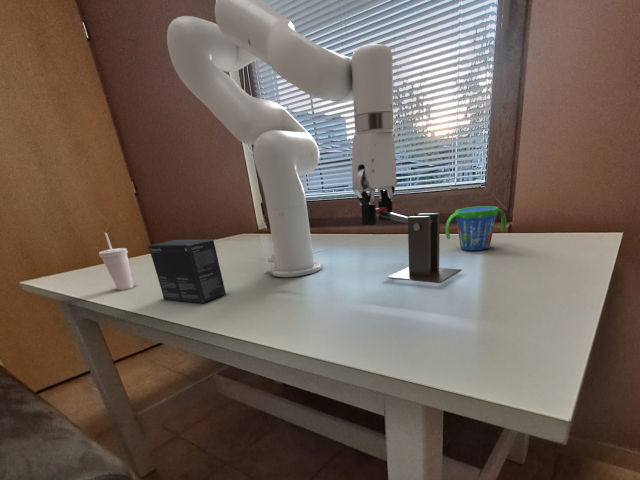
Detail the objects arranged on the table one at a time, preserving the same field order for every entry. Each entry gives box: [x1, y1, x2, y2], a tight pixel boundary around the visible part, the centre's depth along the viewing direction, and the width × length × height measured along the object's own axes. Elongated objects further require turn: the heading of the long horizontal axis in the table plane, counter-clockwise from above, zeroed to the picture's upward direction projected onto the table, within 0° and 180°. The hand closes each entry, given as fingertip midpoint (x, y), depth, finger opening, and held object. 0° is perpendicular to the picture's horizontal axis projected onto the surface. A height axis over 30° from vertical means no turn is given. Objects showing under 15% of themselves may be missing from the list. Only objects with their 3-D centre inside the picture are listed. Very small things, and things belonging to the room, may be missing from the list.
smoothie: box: [98, 232, 134, 291], centre depth 95 cm, size 6×6×14 cm
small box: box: [147, 238, 227, 304], centre depth 81 cm, size 13×7×12 cm, turn 61°
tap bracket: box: [387, 212, 462, 284], centre depth 77 cm, size 12×10×13 cm
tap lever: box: [376, 207, 434, 230], centre depth 77 cm, size 13×6×2 cm, turn 52°
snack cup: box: [444, 205, 507, 252], centre depth 99 cm, size 16×10×10 cm
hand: (377, 221), depth 81 cm, fingers closed on tap lever, 5 cm apart
